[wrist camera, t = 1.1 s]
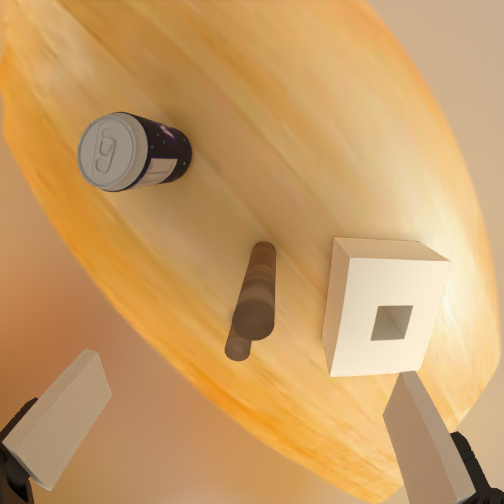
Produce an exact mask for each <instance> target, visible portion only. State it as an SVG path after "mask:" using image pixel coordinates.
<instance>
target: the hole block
mask: <svg viewBox="0 0 504 504" xmlns="http://www.w3.org/2000/svg"><path fill="white" fill-rule="evenodd" d="M450 263H451V261H449V260H448V259H446V258H445V257H443V256H441V255H440V254H438V253H437V252H435V251H433V250H432V249H430V248H428V247H427V246H425V245H423V244H422V243H420V242H416V241H400V240H383V239H365V238H346V237H333V249H332V259H331V268H330V277H329V286H328V294H327V302H326V309H325V317H324V324H323V330H322V337H321V339H322V344H323V348H324V353H325V357H326V362H327V366H328V371H329V376H330V377H335V376H360V375H376V374H389V373H399V372H406V371H414V370H415V371H417V370H419V369H420V366H421V364H422V361H423V358H424V356H425V353H426V350H427V347H428V344H429V341H430V338H431V335H432V332H433V329H434V326H435V323H436V319H437V316H438V313H439V309H440V305H441V302H442V298H443V294H444V290H445V286H446V282H447V277H448V273H449V268H450ZM378 306H382V307H378Z"/></svg>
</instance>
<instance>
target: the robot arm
mask: <svg viewBox="0 0 504 504" xmlns="http://www.w3.org/2000/svg"><path fill="white" fill-rule="evenodd" d="M111 396H112V393H111V390H110V387H109V384H108V382H107V379H106V376H105V373H104V369H103V366H102V363H101V360H100V356H99V353H98V352H97V351H92V350H89V349H85V350H84V351H83V352H82V353H81V354H80V355H79V356H78V357H77V358H76V359H75V360H74V361H73V362H72V363H71V364H70V365H69V366H68V368H67V369H66V370H65V371H64V372H63V373H62V374H61V375H60V376H59V377H58V378H57V379H56V380H55V382H54V383H53V384H52V385H51V386H50V387H49V388H48V389H47V390H46V391H45V393H44V394H43V395H42V396H41V397H40V398H39V399H38V398H34V399H32V400H30V401H29V402H27V403H26V404H25V405H24V406H23V407H22V408H21V410H20V412H18V413H17V414H16V415H15V417H13V418H12V419H11V421H10V422H9V423H8V424H7V425H6V426H5V428H4V429H3V430H2V431H1V432H0V504H34V499H33V494H32V489H31V484H30V482H29V480H28V478H29V477H30V476H31V477H32V478H33V480H34V481H35V482H36V483H37V484H39V485H41V486H42V487H44V488H46V489H47V490H49V491H51V490H52V489H53V487H54V485H55V484H56V482H57V480H58V479H59V477H60V475H61V474H62V472H63V471H64V469H65V467H66V466H67V464H68V462H69V461H70V459H71V458H72V456H73V455H74V453H75V451H76V450H77V448H78V447H79V445H80V443H81V442H82V440H83V439H84V437H85V436H86V434H87V433H88V431H89V430H90V428H91V426H92V425H93V423H94V422H95V420H96V419H97V417H98V416H99V414H100V413H101V411H102V410H103V408H104V407H105V405H106V404H107V402H108V401H109V399H110V398H111ZM383 418H384V421H385V424H386V427H387V430H388V433H389V436H390V439H391V442H392V445H393V448H394V451H395V454H396V458H397V461H398V464H399V467H400V471H401V474H402V477H403V481H404V484H405V488H406V491H407V494H408V498H409V502H410V504H504V492H502V491H501V490H499V489H497V488H491V487H490V485H489V484H488V482H487V480H486V478H485V475H484V473H483V471H482V469H481V467H480V465H479V463H478V461H477V459H476V458H475V455H474V453H473V451H471V447H470V445H469V443H468V441H467V439H466V438H465V437H464V436H462V435H461V434H460V433H459V432H458V431H457V432H454V433H450V434H449V432H448V430H447V428H446V426H445V424H444V422H443V420H442V418H441V416H440V414H439V413H438V411H437V409H436V407H435V405H434V403H433V401H432V400H431V398H430V396H429V394H428V392H427V391H426V389H425V387H424V385H423V384H422V382H421V380H420V378H419V377H418V375H417V373H416V371H415V370H414V371H406V372H400V373H399V376H398V379H397V381H396V384H395V387H394V389H393V392H392V394H391V397H390V399H389V402H388V404H387V406H386V409H385V411H384V413H383Z"/></svg>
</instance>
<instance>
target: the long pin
mask: <svg viewBox="0 0 504 504" xmlns="http://www.w3.org/2000/svg"><path fill="white" fill-rule="evenodd" d="M275 272H276V251H275V248H274V246H273V245H272V244H270V243H268V242H260V243H258V244H256V245H255V246H254V248H253V250H252V254H251V257H250V261H249V264H248V268H247V271H246V274H245V278H244V281H243V285H242V288H241V292H240V295H239V298H238V302H237V305H236V309H235V312H234V316H233V320H232V324H233V328H234V330H235V331H236V333H237V334H238V335H240V336H241V337H242V338H245V339H247V340H261V339H264V338H266V337H267V336H268V335H270V333H271V332H272V331H273V328H274V317H275Z"/></svg>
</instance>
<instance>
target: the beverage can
mask: <svg viewBox="0 0 504 504" xmlns="http://www.w3.org/2000/svg"><path fill="white" fill-rule="evenodd" d="M191 155H192V152H191V145H190V143H189V140H188V139H187V137H186V136H185V135H184V134H183V133H182V132H181V131H179V130H177V129H175V128H172V127H169V126H166V125H163V124H160V123H157V122H154V121H151V120H148V119H145V118H142V117H139V116H136V115H133V114H129V113H125V112H116V113H112V114H109V115H106V116H102V117H100V118H98V119H96V120H94V121H93V122H92V123H91V124H90V125H89V126H88V127H87V128H86V129H85V131H84V132H83V134H82V136H81V138H80V141H79V145H78V150H77V162H78V166H79V170H80V172H81V174H82V176H83V177H84V179H85V180H86V181H87V182H88V183H90V184H91V185H93V186H95V187H98V188H100V189H102V190H104V191H108V192H119V191H124V190H129V189H134V188H139V187H145V186H150V185H156V184H162V183H168V182H172V181H174V180H176V179H178V178H179V177H181V176H182V175H183V174H184V173H185V171H186V170H187V168H188V166H189V164H190V161H191Z"/></svg>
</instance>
